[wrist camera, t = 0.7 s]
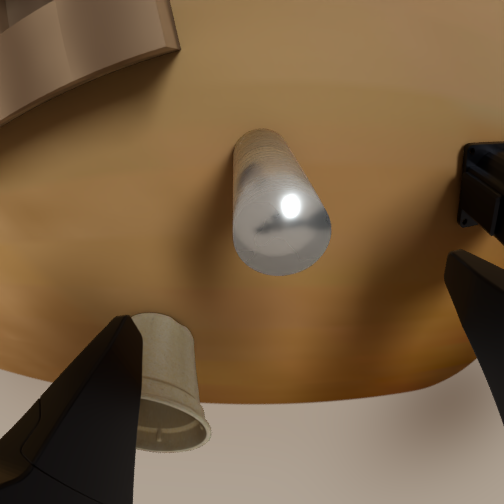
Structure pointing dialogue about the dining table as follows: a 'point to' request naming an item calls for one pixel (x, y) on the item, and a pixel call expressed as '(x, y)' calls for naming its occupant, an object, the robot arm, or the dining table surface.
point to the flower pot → (169, 388)
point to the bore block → (74, 45)
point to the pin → (275, 207)
